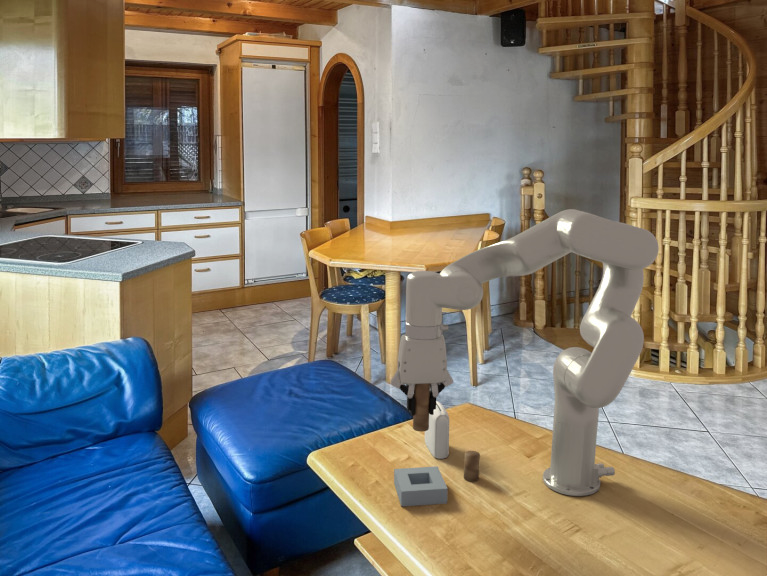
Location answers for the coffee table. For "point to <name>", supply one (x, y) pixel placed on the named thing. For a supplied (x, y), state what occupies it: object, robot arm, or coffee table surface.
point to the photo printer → (438, 432)
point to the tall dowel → (421, 407)
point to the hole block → (420, 486)
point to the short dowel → (471, 466)
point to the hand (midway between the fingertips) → (421, 412)
